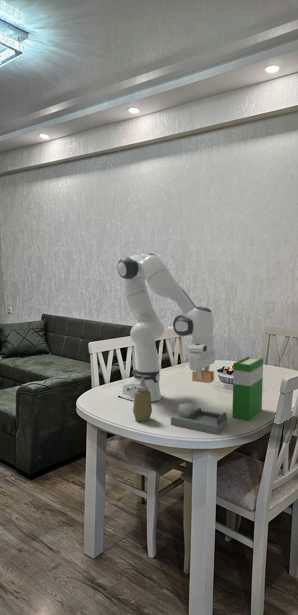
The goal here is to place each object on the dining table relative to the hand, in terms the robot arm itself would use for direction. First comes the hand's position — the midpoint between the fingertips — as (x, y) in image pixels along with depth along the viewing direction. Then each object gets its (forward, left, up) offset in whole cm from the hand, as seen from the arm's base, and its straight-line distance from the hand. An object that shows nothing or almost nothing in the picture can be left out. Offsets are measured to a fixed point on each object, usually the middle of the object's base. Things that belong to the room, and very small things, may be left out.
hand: (203, 377), depth 173 cm
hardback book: (+15, +16, -18) cm, 28 cm away
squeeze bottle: (-21, -15, -18) cm, 32 cm away
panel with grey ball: (+2, -8, -18) cm, 20 cm away
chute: (0, 0, -2) cm, 2 cm away
